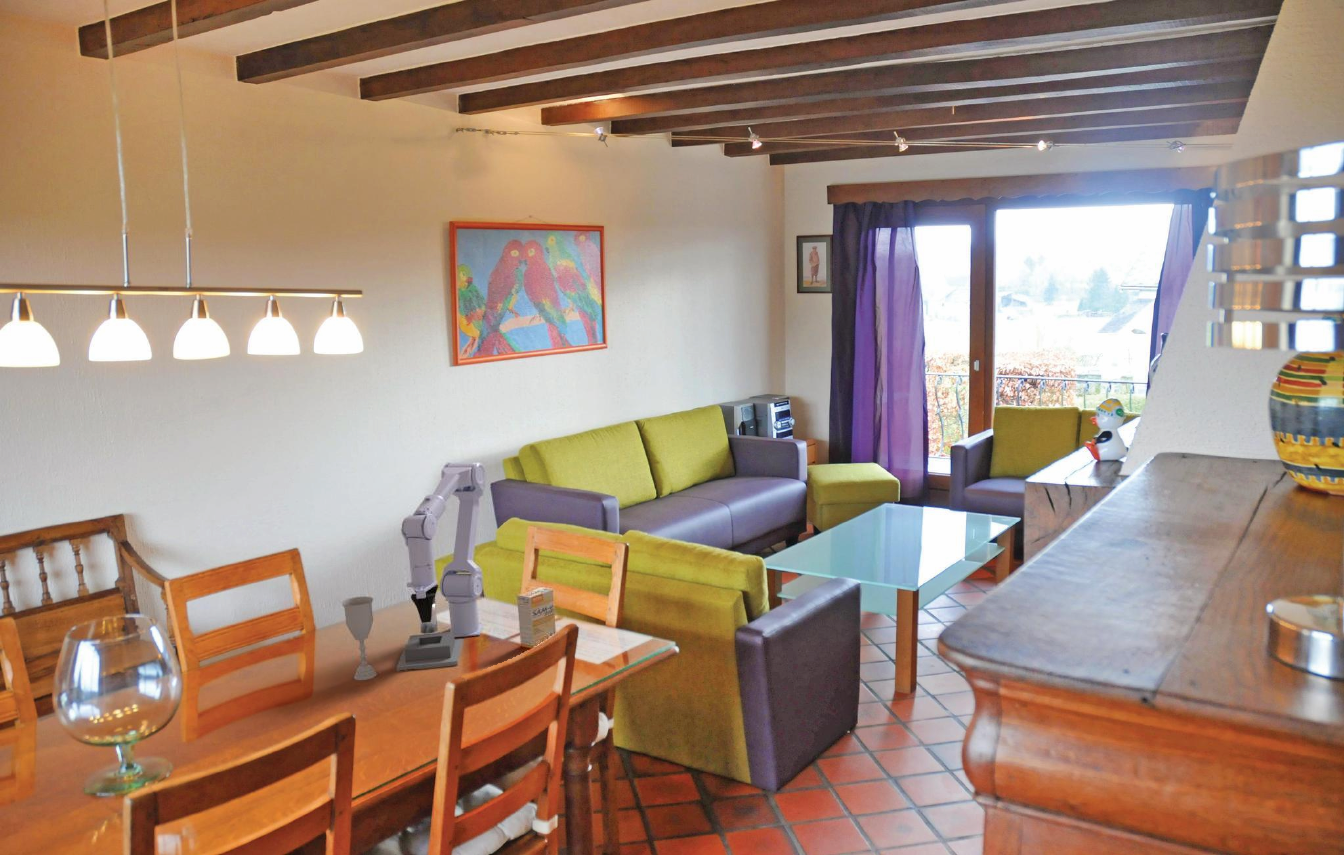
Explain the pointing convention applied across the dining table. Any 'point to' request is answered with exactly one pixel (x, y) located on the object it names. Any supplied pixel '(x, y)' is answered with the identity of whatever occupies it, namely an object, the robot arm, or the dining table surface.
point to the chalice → (360, 629)
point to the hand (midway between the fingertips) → (427, 618)
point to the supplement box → (536, 616)
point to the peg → (430, 626)
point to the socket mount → (430, 651)
